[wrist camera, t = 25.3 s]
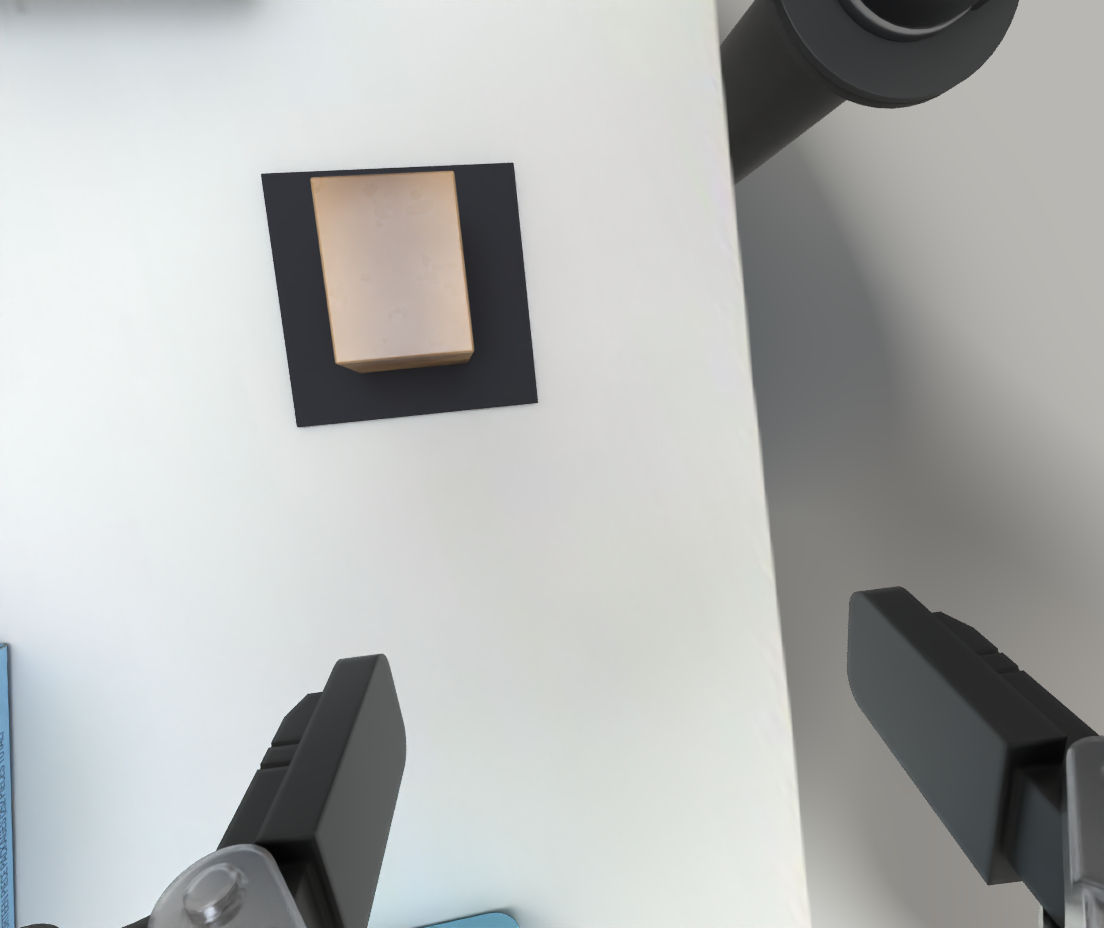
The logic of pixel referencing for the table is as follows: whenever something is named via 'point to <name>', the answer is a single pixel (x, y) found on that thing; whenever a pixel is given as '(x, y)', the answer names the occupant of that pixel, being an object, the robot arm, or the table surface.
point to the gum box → (5, 803)
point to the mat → (351, 396)
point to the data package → (482, 922)
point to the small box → (393, 270)
